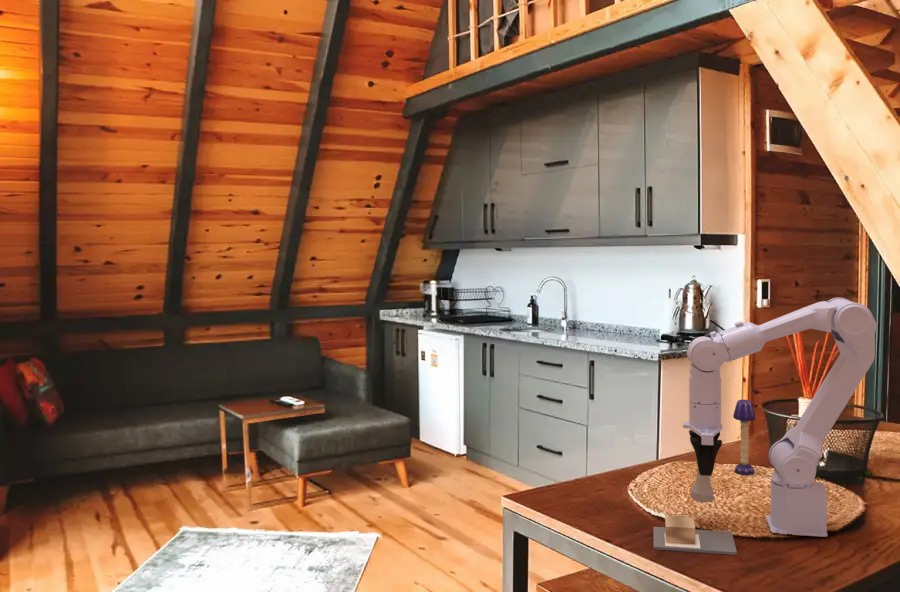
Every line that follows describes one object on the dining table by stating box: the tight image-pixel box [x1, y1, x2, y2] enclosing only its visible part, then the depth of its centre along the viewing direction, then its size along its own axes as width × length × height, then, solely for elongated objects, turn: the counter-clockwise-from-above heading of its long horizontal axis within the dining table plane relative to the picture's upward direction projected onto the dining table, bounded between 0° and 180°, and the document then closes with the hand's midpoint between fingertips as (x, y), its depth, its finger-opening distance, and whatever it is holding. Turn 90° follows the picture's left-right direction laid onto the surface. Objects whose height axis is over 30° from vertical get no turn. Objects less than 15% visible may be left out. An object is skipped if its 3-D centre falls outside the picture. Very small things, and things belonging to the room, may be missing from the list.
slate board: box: [652, 526, 738, 556], centre depth 141 cm, size 14×9×1 cm, turn 75°
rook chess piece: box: [689, 460, 715, 503], centre depth 148 cm, size 4×4×8 cm
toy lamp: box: [732, 399, 756, 476], centre depth 176 cm, size 5×5×17 cm
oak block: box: [664, 515, 696, 544], centre depth 141 cm, size 5×5×3 cm
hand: (705, 471), depth 147 cm, fingers closed on rook chess piece, 3 cm apart
